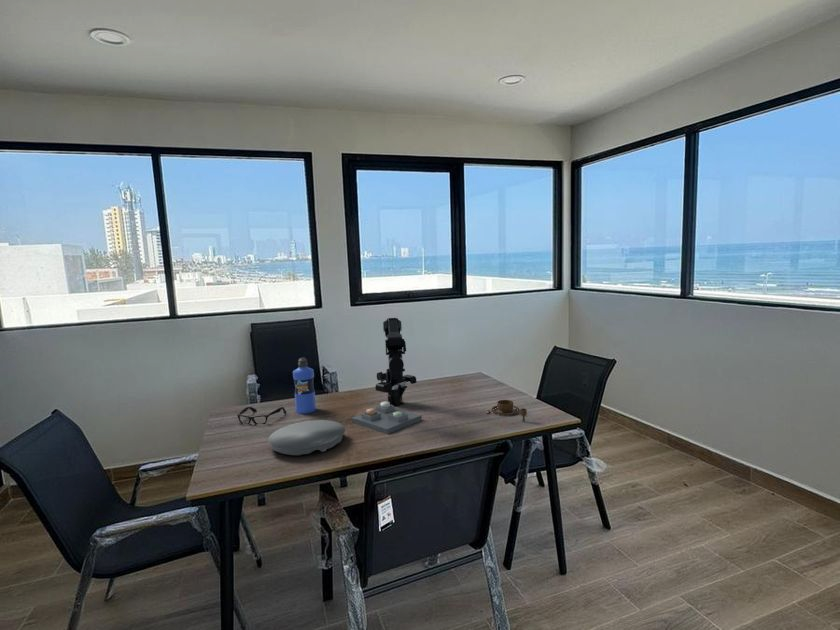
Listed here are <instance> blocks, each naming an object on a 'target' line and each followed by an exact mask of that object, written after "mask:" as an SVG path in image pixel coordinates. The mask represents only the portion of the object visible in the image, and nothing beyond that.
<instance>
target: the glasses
mask: <svg viewBox="0 0 840 630" xmlns="http://www.w3.org/2000/svg"><path fill="white" fill-rule="evenodd" d="M248 409H249V410H251V411H252V412H253V413H256V412H258V411H257V409H256V408H254V407H252V406H247V407H245V408H244V409H242V410H241V411H240V412H239V413H238V414H237V415H236V417H237V418H238V421H239V423H241V424H242V423H244V424H243V425H250V423H251V422H253V424H255V425H259V423H258V422H257V421H256V420H255V418H260V417H262V418H263V417H264V418H265V421H264V422H263V423H260V425H265V424H266V423H267V421H268V418H269V417H270V416H273V415H275V414H277V413H280V412H281V411H283V413H285V412H286V409H285V407H284V406H282V407H278V408H276V409H274V411H272V412H270V413H267V414H265V415H264V414H262V415H256V416H248V415H243V414H244V413H246V412H247V411H248ZM255 411H256V412H255ZM241 417H244V418H247V419H248V423H247V422H246V423H245V422H243V421H242V420H241Z"/></svg>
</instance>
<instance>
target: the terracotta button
mask: <svg viewBox="0 0 840 630" xmlns="http://www.w3.org/2000/svg"><path fill="white" fill-rule="evenodd" d="M365 412H366V415H369V416H372V415H375V414H376V408H374V407H371V408H367V409H366V410H365Z"/></svg>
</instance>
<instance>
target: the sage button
mask: <svg viewBox="0 0 840 630" xmlns="http://www.w3.org/2000/svg"><path fill="white" fill-rule="evenodd" d="M401 415H403V412H399V411H398V412H394V413H393V416H396V417H399V416H401Z"/></svg>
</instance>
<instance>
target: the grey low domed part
mask: <svg viewBox="0 0 840 630" xmlns="http://www.w3.org/2000/svg"><path fill="white" fill-rule="evenodd" d="M345 432H346V428H345V425H343V424H342V423H340V422H337V421H334V420H327V419H326V420H324V419H323V420H322V419H321V420H320V419H318V420H315V419H313V420H306V421H301V422H296V423H291V424H288V425H285V426H283V427H281V428H279V429H277V430H275V431H273V432H272V433H271V434H270V435H269V437H268V443H269V444H270V445H271V447H272V450H273V451H275V452H278V453H280V454H283V455H288V456H302V455H309V454H311V453H312V452H315V451H317V450H318V451H320V452H322V453H323V452H326V451H327V449H328V450H329V449H331V448H333V447H334V446H336V445H337V444H339V443H341V441H342V439H343V437H344V436H343V435H344V433H345Z"/></svg>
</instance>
